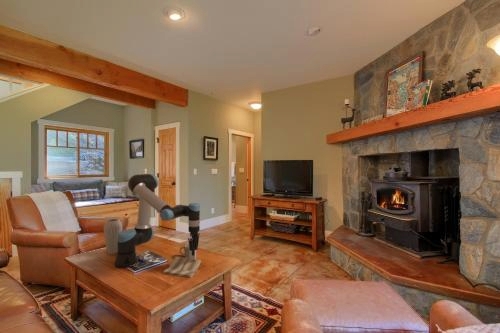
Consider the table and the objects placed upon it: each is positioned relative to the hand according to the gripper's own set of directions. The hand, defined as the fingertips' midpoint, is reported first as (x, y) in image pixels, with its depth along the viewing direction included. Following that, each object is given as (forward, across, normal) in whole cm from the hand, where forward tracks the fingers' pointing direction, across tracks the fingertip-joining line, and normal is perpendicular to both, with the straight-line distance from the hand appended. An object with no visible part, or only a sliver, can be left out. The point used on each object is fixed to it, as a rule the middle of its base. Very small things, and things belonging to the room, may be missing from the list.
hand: (193, 259), depth 164 cm
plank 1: (+4, -2, +11) cm, 11 cm away
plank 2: (+4, -2, 0) cm, 4 cm away
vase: (+6, +8, +76) cm, 77 cm away
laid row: (+7, -5, +5) cm, 10 cm away
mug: (+7, +16, +14) cm, 23 cm away
